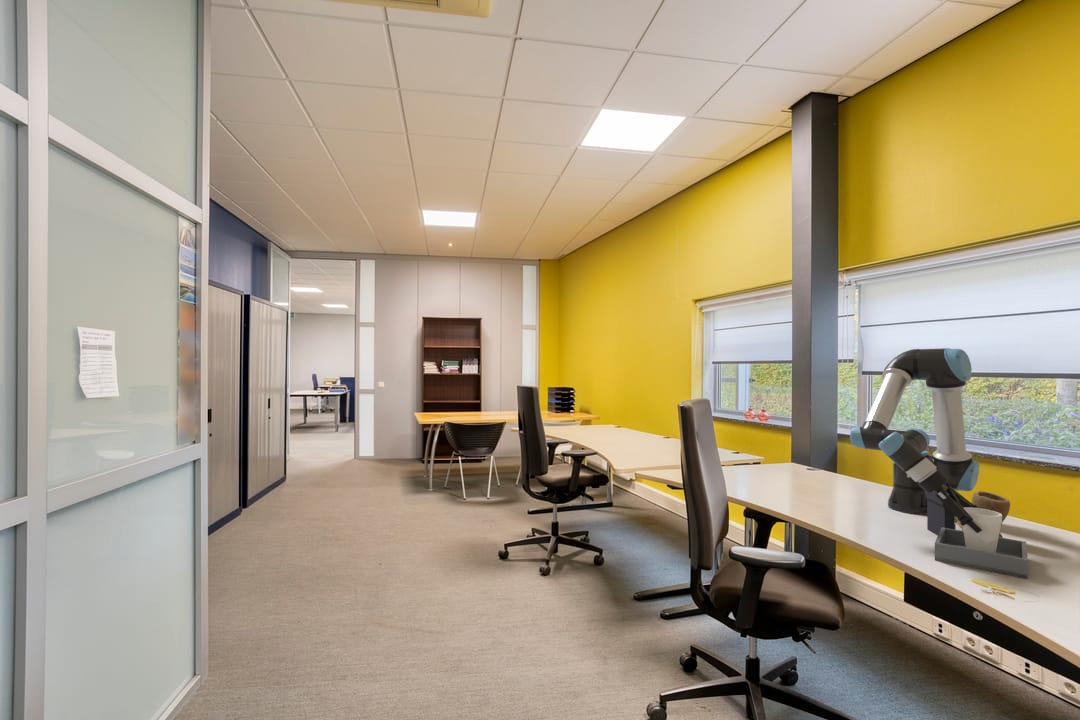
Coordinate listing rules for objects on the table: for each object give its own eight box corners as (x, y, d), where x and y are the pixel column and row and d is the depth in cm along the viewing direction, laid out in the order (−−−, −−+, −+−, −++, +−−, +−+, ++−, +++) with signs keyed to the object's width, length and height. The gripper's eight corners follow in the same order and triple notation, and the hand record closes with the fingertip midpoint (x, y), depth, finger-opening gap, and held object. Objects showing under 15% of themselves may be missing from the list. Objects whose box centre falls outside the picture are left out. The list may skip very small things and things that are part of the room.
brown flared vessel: (1015, 547, 165) (1015, 499, 165) (968, 541, 170) (968, 495, 170) (999, 533, 178) (999, 489, 178) (956, 528, 184) (956, 485, 184)
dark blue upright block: (957, 540, 171) (957, 494, 171) (942, 539, 171) (942, 494, 172) (939, 530, 181) (939, 487, 181) (925, 529, 182) (925, 486, 182)
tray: (941, 542, 168) (941, 527, 168) (1026, 558, 155) (1026, 541, 155) (934, 559, 154) (934, 542, 154) (1027, 579, 140) (1027, 560, 140)
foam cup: (1009, 562, 149) (1010, 517, 149) (973, 560, 150) (974, 515, 150) (986, 550, 158) (987, 508, 158) (952, 548, 160) (953, 506, 160)
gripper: (921, 477, 174) (981, 532, 164) (911, 490, 156) (977, 553, 145) (941, 463, 170) (1004, 519, 160) (933, 474, 152) (1003, 538, 142)
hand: (991, 535), depth 153 cm, fingers open, 12 cm apart
